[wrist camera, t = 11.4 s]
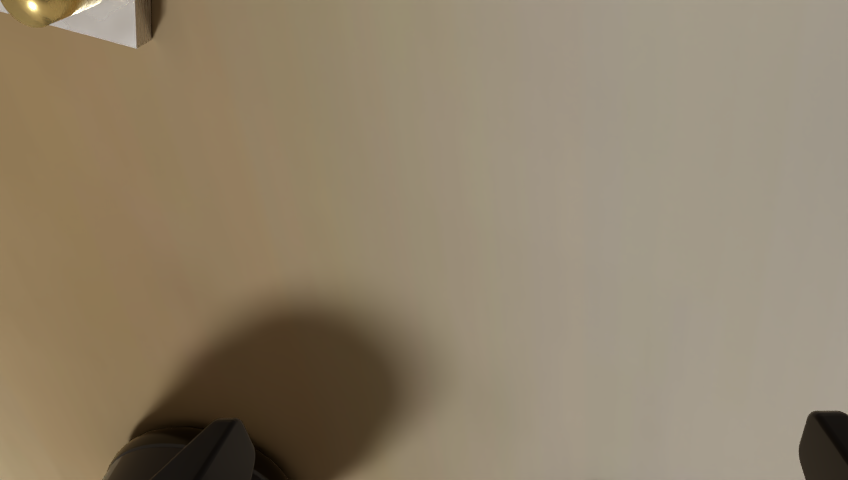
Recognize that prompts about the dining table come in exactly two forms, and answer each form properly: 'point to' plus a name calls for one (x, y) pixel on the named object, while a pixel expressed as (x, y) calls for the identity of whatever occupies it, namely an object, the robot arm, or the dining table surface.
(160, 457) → the supplement container
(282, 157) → the dining table surface
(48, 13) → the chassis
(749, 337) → the dining table surface
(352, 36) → the dining table surface
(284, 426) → the dining table surface
